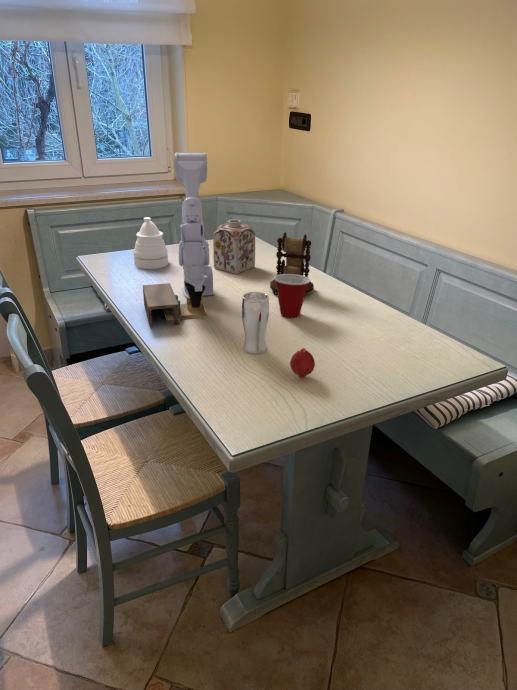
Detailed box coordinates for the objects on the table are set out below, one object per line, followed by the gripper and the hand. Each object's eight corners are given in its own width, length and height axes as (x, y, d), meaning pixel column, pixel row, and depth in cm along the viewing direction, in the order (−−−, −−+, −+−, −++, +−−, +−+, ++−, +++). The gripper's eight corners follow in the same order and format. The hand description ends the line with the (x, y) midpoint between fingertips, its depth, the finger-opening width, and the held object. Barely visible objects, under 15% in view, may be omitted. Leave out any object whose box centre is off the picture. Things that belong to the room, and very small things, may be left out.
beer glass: (264, 356, 136) (266, 302, 129) (238, 353, 137) (239, 299, 130) (269, 344, 142) (271, 292, 135) (244, 342, 143) (245, 290, 136)
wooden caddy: (171, 302, 168) (170, 283, 165) (179, 325, 152) (178, 304, 149) (144, 304, 166) (142, 285, 163) (149, 327, 150) (148, 306, 147)
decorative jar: (232, 261, 208) (232, 215, 200) (255, 267, 202) (256, 220, 194) (212, 268, 199) (211, 221, 191) (236, 275, 193) (236, 226, 185)
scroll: (316, 286, 184) (321, 230, 175) (308, 301, 171) (312, 241, 162) (275, 282, 187) (278, 226, 178) (264, 296, 174) (266, 236, 166)
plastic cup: (313, 311, 163) (315, 274, 158) (300, 324, 155) (303, 285, 149) (280, 305, 167) (282, 269, 162) (267, 317, 159) (268, 279, 153)
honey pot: (165, 269, 198) (162, 221, 190) (131, 268, 198) (126, 220, 190) (170, 259, 209) (168, 213, 201) (138, 258, 209) (134, 212, 201)
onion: (288, 371, 129) (289, 342, 125) (311, 370, 130) (313, 341, 126) (291, 383, 124) (293, 353, 120) (315, 382, 124) (317, 352, 121)
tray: (200, 305, 166) (200, 290, 164) (206, 316, 158) (206, 301, 156) (162, 309, 163) (161, 293, 161) (166, 320, 155) (165, 304, 153)
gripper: (212, 269, 150) (212, 313, 156) (202, 254, 162) (203, 296, 168) (187, 271, 148) (189, 315, 154) (179, 256, 160) (181, 298, 166)
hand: (195, 305), depth 161 cm, fingers closed on tray, 2 cm apart
